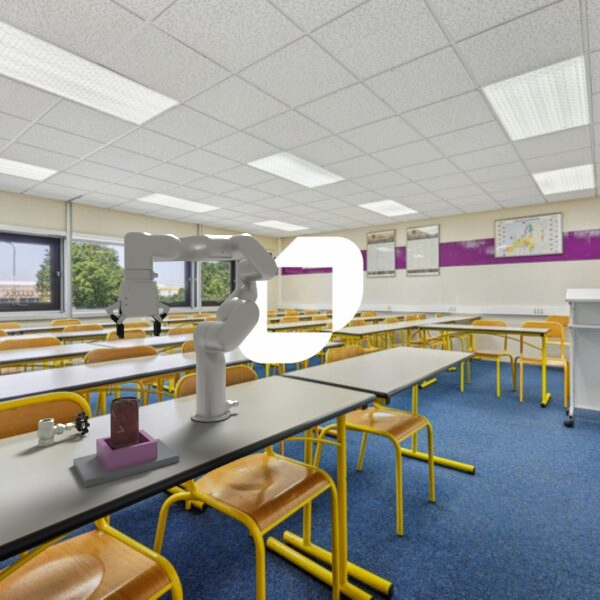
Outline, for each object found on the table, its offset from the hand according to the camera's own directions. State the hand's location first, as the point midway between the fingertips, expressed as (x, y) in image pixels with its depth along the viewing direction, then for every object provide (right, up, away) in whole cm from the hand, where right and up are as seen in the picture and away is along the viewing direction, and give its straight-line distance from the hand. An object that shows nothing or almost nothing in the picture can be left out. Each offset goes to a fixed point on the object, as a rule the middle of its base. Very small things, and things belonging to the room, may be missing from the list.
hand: (139, 337), depth 109 cm
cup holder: (+4, -28, -17) cm, 33 cm away
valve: (-21, -29, -2) cm, 35 cm away
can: (+4, -27, -18) cm, 33 cm away
